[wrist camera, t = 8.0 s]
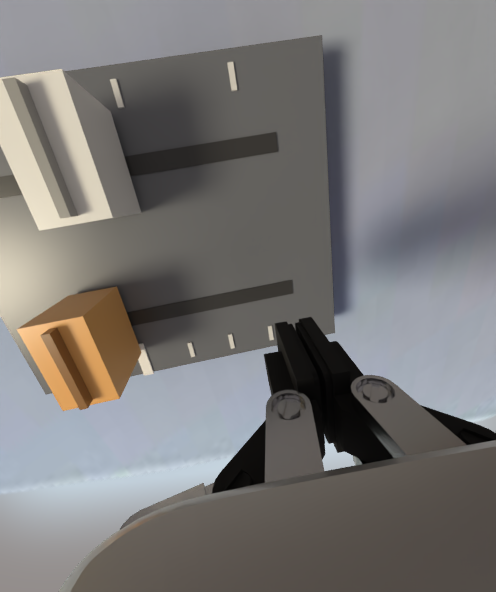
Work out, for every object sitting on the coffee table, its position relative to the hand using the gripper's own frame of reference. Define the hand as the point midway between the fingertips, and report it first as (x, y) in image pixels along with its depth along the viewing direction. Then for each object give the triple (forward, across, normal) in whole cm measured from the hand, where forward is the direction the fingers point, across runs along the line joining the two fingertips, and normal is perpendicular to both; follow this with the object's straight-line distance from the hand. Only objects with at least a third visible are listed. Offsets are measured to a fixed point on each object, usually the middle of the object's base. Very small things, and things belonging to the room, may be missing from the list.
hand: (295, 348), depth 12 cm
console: (+9, +7, -5) cm, 12 cm away
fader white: (+6, +8, -9) cm, 14 cm away
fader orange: (+6, +11, 0) cm, 13 cm away
